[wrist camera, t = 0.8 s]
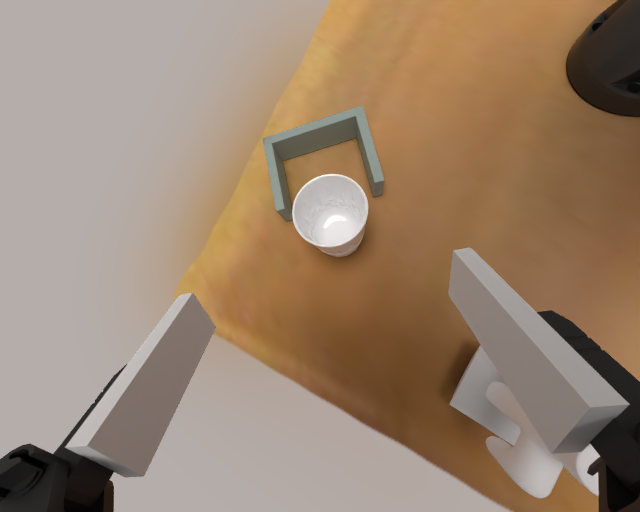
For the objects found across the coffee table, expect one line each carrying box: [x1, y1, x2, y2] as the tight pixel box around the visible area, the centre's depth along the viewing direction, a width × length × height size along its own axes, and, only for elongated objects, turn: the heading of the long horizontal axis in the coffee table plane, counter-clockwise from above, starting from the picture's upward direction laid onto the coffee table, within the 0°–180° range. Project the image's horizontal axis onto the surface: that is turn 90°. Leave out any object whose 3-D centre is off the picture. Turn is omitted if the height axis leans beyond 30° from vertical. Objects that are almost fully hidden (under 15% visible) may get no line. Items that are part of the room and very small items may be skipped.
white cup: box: [292, 174, 368, 257], centre depth 29 cm, size 8×8×10 cm
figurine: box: [449, 345, 600, 498], centre depth 20 cm, size 7×9×15 cm
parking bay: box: [263, 106, 384, 221], centre depth 34 cm, size 14×11×4 cm
